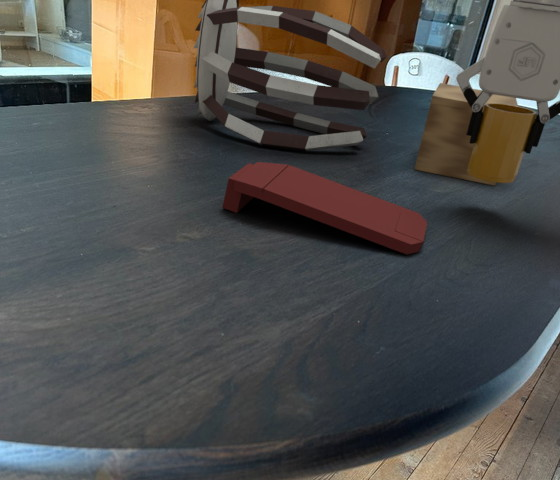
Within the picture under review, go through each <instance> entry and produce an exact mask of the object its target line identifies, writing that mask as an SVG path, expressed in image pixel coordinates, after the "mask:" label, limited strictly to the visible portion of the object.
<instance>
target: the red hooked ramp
mask: <svg viewBox="0 0 560 480" xmlns="http://www.w3.org/2000/svg"><path fill="white" fill-rule="evenodd" d="M254 198H256V199H259V200H262V201H264V202H266V203H269V204H272V205H274V206H276V207H280V208H282V209H285V210H288V211H291V212H293V213H295V214H298V215H301V216H304V217H306V218H309V219H311V220H314V221H317V222H320V223H322V224H324V225H328V226H330V227H332V228H336V229H338V230H341V231H342V232H346V233H348V234H351V235H354V236H356V237H359V238H362V239H365V240H367V241H370V242H372V243H375V244H377V245H380V246H383V247H386V248H387V249H391V250H394V251H396V252H398V253H402V254H404V255H410V254H415V253H419V252H420V251H421V248H422V246H423V244H424V241H425V236H426V232H427V227H428V221H427V220H426V219H425V218H424V217H423V216H422V214H420V213H419V212H417V211H414V210H412V209H408V208H407V207H404V206H400V205H398V204H396V203H392V202H390V201H387V200H384V199H382V198H379V197H377V196H374V195H371V194H368V193H366V192H363V191H360V190H357V189H355V188H352V187H350V186H347V185H344V184H342V183H338V182H336V181H333V180H330V179H328V178H325V177H323V176H320V175H317V174H315V173H312V172H310V171H306V170H304V169H302V168H299V167H296V166H293V165H289V164H286V163H285V164H284V163H275V162H274V163H273V162H263V161H257V162H255V163H251V162H249V163H247V164H246V165H244V166H243V167H242V168H240V169H239V170H237V171H236V172H235V173H233V174H232V175H231V176H229V177H228V180H227V185H226V188H225V193H224V198H223V201H222V208H223V209H225V210H228V211H231V212H233V213H236V214H237V213H239V212H240V211H241V210H242V209H243V208H244V207H245V206H246V205H247V204H249V203H250V201H252V200H253V199H254Z"/></svg>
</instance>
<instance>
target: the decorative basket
mask: <svg viewBox="0 0 560 480" xmlns="http://www.w3.org/2000/svg"><path fill="white" fill-rule="evenodd" d="M197 18H199V19H200V21H199V23H198V25H197V26H196V27H195V29H194V31H195V32H199V34H198V37H197V39H196V42H195V44H194V46H193V49H197V50H196V51H197V53H196V59H195V64H194V68H196V77H195V81H194V87H193V89H194V88H196V93H195V94H196V95H195V100H194V103H198V109H197V116H199V115H202V117H203V118H204V119H206V120H207V121H209V122H211V121H213V120H215V118H217V119H218V121H219V122H220V123H221V124H222V125H223V126H224V127H225V128H226V129H228V130H229V131H231V132H233V133H236V134H238V135H240V136H242V137H244V138H246V139H248V140H250V141H253V142H255V143H257V144H258V145H260V146H262V147H263V146H264V147H270V148H271V147H272V148H280V149H286V150H287V149H288V150H295V151H303V152H309V151H310V152H311V151H318V150H328V149H335V148H336V149H337V148H345V147H353V146H359V144H361V143H362V142H363V141H364V140H365V139H366V138H367V137H368V135H367V133H366V130H365V127H360V126H355V125H350V124H345V123H341V122H336V121H332V120H331V121H330V120H326V119H322V118H319V117H315V116H311V115H306V114H303V113H300V112H295V111H292V110H289V109H285V108H283V107H282V108H281V107H278V106H275V105H271V104H268V103H265V102H261V101H258V100H255V99H252V98H249V97H246V96H243V95H241V94H240V95H239V94H237V93H234V92H231V91H229V88H230V83H231V84H234V85H237V86H239V87H241V88H245V89H247V90H250V91H253V92H256V93H259V94H262V95H264V96H266V97H271V98H272V97H273V98H277V99H283V100H287V101H292V102H296V103H301V104H305V105H306V104H307V105H311V106H319V107H327V108H328V107H329V108H339V109H348V110H358V111H365V110H366V109H367V107H368V105H372V104H373V103H374V102H375V101H376V100H377V99H378V98H379V94H378V91H377V87H376V86H375V85H374V84H372V83H369V82H367V81H365V80H362V79H360V78H358V77H356V76H353V75H352V74H350V73H348V72H344V71H343V70H339V69H336V68H333V67H330V66H327V65H323V64H321V63H317V62H314V61H311V60H307V59H302V58H298V57H294V56H289V55H284V54H279V53H275V52H270V51H266V50H265V51H264V50H257V49H249V48H243V47H237V37H238V23H240V24H241V23H242V24H247V25H248V24H249V25H254V26H262V27H268V28H276V29H280V30H282V31H286V32H288V33H291V34H294V35H297V36H300V37H302V38H306V39H309V40H312V41H314V42H318V43H320V44H323V45H325V46H328V47H331V48H332V49H334V50H335V51H338V52H340V53H342V54H344V55H346V56H348V57H350V58H352V59H354V60H356V61H358V62H360V63H362V64H364V65H366V66H368V67H370V68H373V69H374V70H375V69H376V68H377V66H378V65H379V64H380V63H383V61H385V60H386V59H387V58H388V55H387V54H386V51H385V50H384V48H382V47H381V46H380V45H378V44H377V43H376V42H375V41H373V39H370V38H369V37H368V36H367V35H365V34H364V33H362V32H361V31H359V30H358V29H357V28H356V27H354V26H353V25H352V24H349V23H347V22H344V21H341V20H339V19H336V18H335V17H331V16H329V15H326V14H325V13H321V12H318V11H316V10H310V9H301V8H294V7H285V6H278V5H261V6H260V5H259V6H238V3H237V0H205V1H204V2H203V4H202V6H201V11H200V12H199V14H198V15H197ZM256 69H258V70H256ZM260 70H266V71H271V72H275V73H280V74H286V75H290V76H294V77H299V78H304V79H307V80H309V81H313V82H316V83H320V84H314V83H310V82H305V81H300V80H296V79H292V78H287V77H286V78H285V77H281V76H276V75H271V74H268V73H265V72H262V71H260ZM321 84H323V85H321ZM223 106H226V107H230V108H233V109H236V110H239V111H243V112H246V113H249V114H252V115H254V116H259V117H262V118H266V119H269V120H272V121H276V122H279V123H283V124H285V125H288V126H289V125H290V126H293V127H296V128H300V129H304V130H308V131H312V132H315V133H319V134H316V135H301V134H295V133H285V132H279V131H270V130H263V129H262V128H260V127H258V126H255V125H253V124H251V123H249V122H247V121H245V120H242V119H241V118H238V117H236V116H234V115H232V114H230V113H229V112H228V111H227V110H226V109H225V108H224V107H223Z"/></svg>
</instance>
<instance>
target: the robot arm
mask: <svg viewBox="0 0 560 480" xmlns="http://www.w3.org/2000/svg"><path fill="white" fill-rule="evenodd" d="M479 73H480V74H479ZM478 74H479V79H478V86H479V88H480V90H482V92H481V93H480V94H479V95H478V97H477V95H476V94H475V92H474V90H473V89H474V88H473V86H472V84H471V82H470V79H472V78H473V77H475V76H476V75H478ZM456 83H457V84H458V86H460V88H461V90H462V92H463V94H464V97H465V98H466V100H467V102H468V104H469V105H470V107H471V109H472V115H471V119H470V123H469V126H468V130H467V134H466V135H468V136H471V138H470V144H473V143H475V141H476V138H477V134H478V130H479V127H480V123H481V120H482V116H483V112H482V110H483V106H484V104H485V103H486V102H487V101H488V100H489V98H490V97H491V96H492V95H493V94H494V95H500V96H506V97H513V98H516V99H520V100H527V101H533V102H535V103H536V109H537V115H536V118H535V121H534V124H533V127H532V130H531V133H530V136H529V139H528V142H527V145H526V148H525V152H524V153H526V154H531V153H532V148H533V147H535V148H538V146H539V143H540V140H541V136H542V134H543V131H544V128H545V125H546V124H547V123H549V121H551V120H552V119H554V118H555V117H556V116H558V115H560V100H558V101H556V102H554V103H553V104H551V105H550V106H549V102H551V101H553V100H555V99H556V98H557V97H558V95H559V93H560V0H511V1H510V3H509V4H504V5H503V6H502V9H501V11H500V13H499V15H498V17H497V20H496V23H495V26H494V28H493V31H492V33H491V37H490V40H489V43H488V46H487V49H486V52H485V56H484V57H483V58H481V59H479V60H478V61H477V62H475V63H473V64H472V65H470V66H468V67H467V68H466V69H464V70H462V71H461V72H459V73H458V74H457V76H456Z"/></svg>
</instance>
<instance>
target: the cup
mask: <svg viewBox="0 0 560 480" xmlns="http://www.w3.org/2000/svg"><path fill="white" fill-rule="evenodd" d="M537 115H538V112H537V111H536V110H533V109H531V108H527V107H524V106H519V105H518V106H515V105H508V104H500V103H487V104H485V106H484V110H483V116H482V120H481V123H480V127H479V130H478V134H477V138H476V141H475V143H474V146H473V150H472V153H471V157H470V160H469V164H468V168H467V173H468V174H469V175H471V176H473V177H475V178H478V179H481V180H485V181H490V182H496V184H497V183H498V184H510V183H511V184H512V183H514V182H515V181H516V178H517V176H518V173H519V170H520V167H521V164H522V160H523V158H524V155H525V153H526V152H525V148H526V145H527V142H528V139H529V136H530V133H531V130H532V127H533V124H534V121H535V119H536V116H537Z"/></svg>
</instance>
